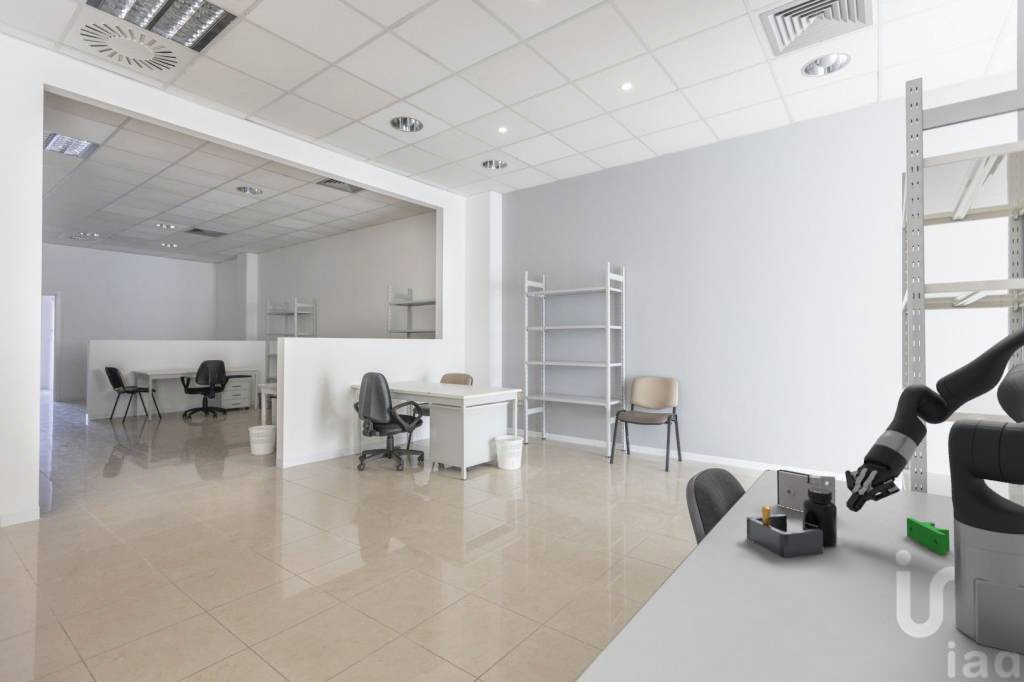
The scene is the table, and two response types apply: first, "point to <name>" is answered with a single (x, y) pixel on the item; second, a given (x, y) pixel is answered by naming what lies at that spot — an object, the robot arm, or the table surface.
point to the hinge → (800, 487)
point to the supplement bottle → (821, 514)
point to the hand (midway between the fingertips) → (850, 509)
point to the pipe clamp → (929, 535)
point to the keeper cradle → (783, 536)
